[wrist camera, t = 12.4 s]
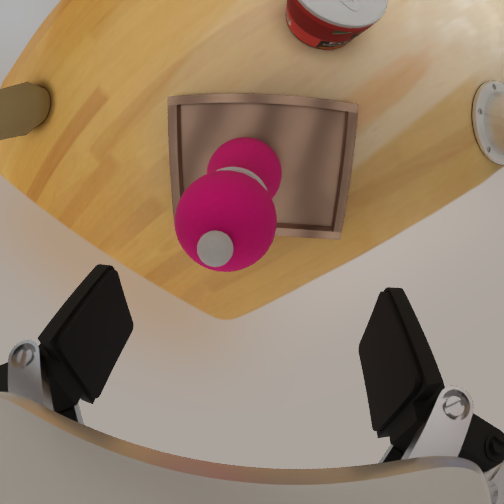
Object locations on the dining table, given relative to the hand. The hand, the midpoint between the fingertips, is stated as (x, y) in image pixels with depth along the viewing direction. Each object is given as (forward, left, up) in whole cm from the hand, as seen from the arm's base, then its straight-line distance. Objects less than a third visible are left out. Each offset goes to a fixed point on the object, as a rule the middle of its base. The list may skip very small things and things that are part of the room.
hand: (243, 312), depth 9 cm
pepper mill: (+2, 0, -24) cm, 24 cm away
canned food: (-6, -18, -25) cm, 31 cm away
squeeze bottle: (+33, -11, -25) cm, 43 cm away
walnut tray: (0, 0, -25) cm, 25 cm away
